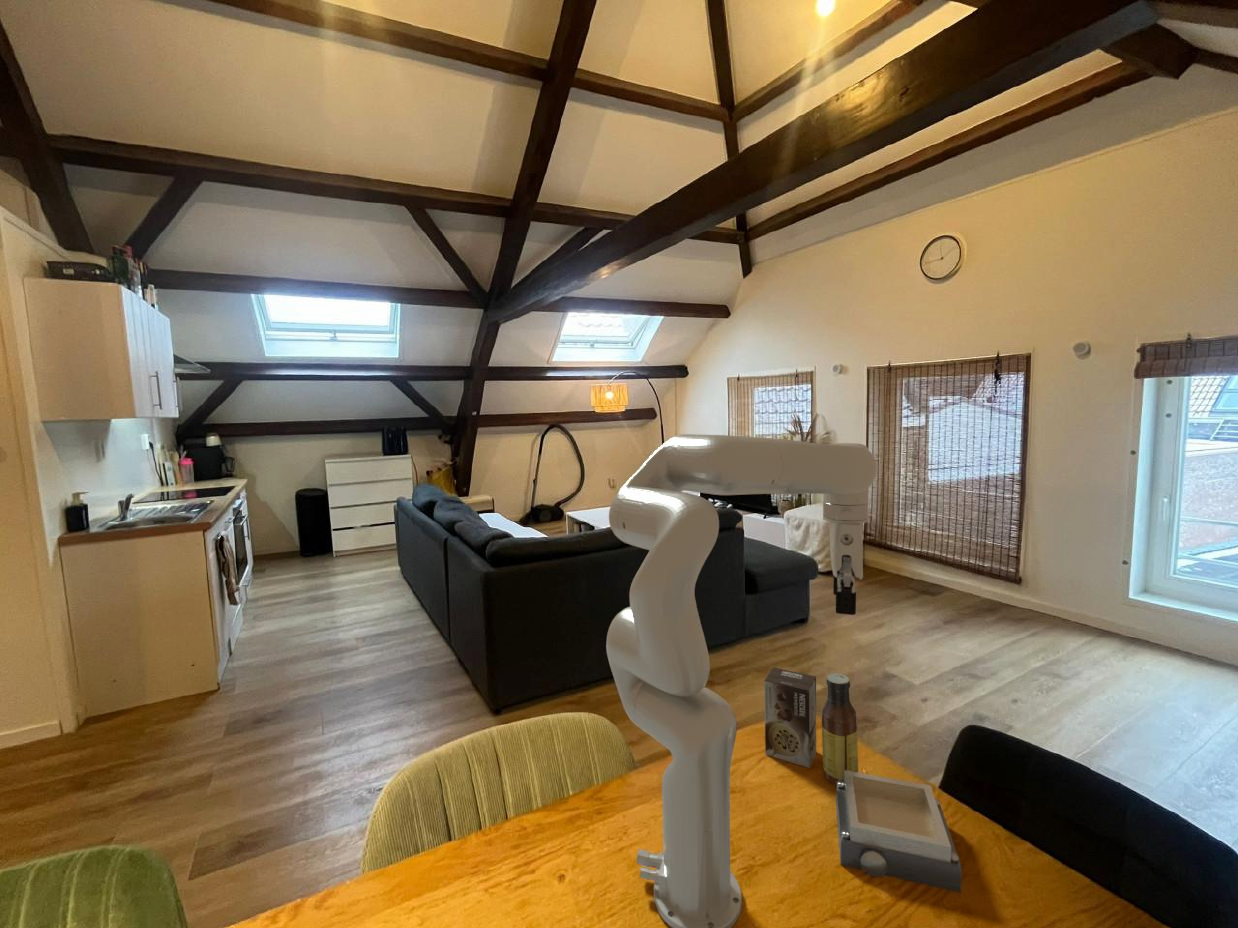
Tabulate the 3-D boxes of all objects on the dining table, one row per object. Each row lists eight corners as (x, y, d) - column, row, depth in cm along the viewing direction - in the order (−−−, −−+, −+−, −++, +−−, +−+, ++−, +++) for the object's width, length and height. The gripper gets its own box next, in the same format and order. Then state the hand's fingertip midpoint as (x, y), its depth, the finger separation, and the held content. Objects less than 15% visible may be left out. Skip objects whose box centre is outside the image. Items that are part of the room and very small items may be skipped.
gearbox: (841, 870, 82) (841, 830, 81) (835, 801, 96) (836, 767, 95) (962, 898, 77) (964, 856, 76) (937, 821, 91) (939, 785, 90)
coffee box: (817, 751, 110) (817, 676, 109) (809, 769, 105) (810, 690, 103) (772, 737, 115) (772, 665, 113) (763, 754, 110) (763, 679, 108)
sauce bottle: (851, 767, 105) (853, 669, 103) (863, 789, 99) (865, 686, 97) (817, 765, 106) (818, 669, 104) (826, 788, 99) (827, 685, 97)
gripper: (873, 522, 88) (871, 624, 89) (863, 504, 104) (862, 590, 105) (824, 520, 90) (823, 619, 92) (822, 503, 106) (821, 587, 108)
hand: (843, 603), depth 99 cm, fingers open, 9 cm apart
